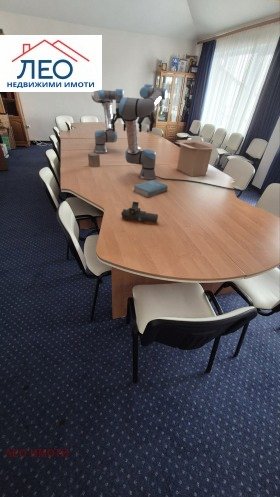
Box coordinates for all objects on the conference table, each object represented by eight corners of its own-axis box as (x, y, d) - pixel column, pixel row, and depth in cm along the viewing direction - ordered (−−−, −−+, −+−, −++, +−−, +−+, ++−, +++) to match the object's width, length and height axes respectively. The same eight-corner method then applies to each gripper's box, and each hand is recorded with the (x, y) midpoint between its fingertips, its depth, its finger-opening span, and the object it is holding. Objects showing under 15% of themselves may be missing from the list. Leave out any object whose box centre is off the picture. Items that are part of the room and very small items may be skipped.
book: (152, 185, 190) (153, 179, 187) (167, 191, 181) (167, 185, 178) (133, 191, 176) (133, 185, 173) (147, 198, 167) (148, 191, 164)
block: (95, 163, 230) (95, 152, 223) (100, 166, 225) (99, 154, 219) (88, 165, 225) (87, 153, 219) (93, 167, 221) (92, 155, 214)
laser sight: (155, 227, 133) (157, 212, 127) (119, 221, 136) (119, 206, 130) (157, 219, 141) (159, 205, 135) (123, 214, 144) (124, 200, 138)
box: (218, 176, 220) (226, 147, 203) (190, 180, 205) (196, 149, 189) (191, 164, 250) (196, 138, 234) (165, 167, 235) (168, 139, 219)
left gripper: (127, 107, 232) (126, 130, 245) (106, 107, 219) (107, 131, 232) (131, 108, 228) (130, 131, 240) (110, 108, 215) (111, 132, 227)
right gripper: (154, 105, 209) (152, 130, 222) (134, 104, 196) (133, 131, 208) (159, 106, 205) (157, 131, 218) (139, 105, 191) (138, 133, 204)
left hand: (119, 131), depth 236 cm, fingers open, 13 cm apart
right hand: (145, 131), depth 213 cm, fingers open, 13 cm apart
